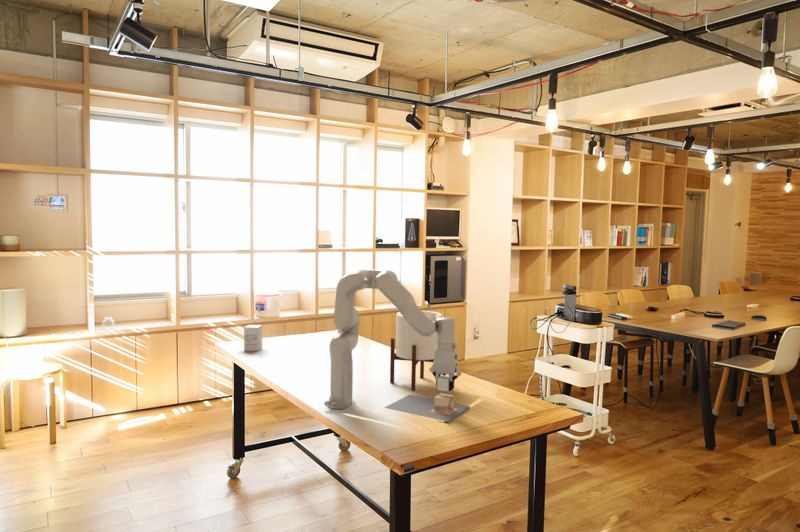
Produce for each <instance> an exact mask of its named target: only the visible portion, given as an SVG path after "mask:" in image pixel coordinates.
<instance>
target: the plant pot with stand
mask: <svg viewBox="0 0 800 532" xmlns="http://www.w3.org/2000/svg"><path fill="white" fill-rule="evenodd" d="M420 310H421V309H420ZM421 311H422V312H423V313H424V314H425V315H426V316H427V315H431V316H437V317H443V314H442V313H440V312H439V311H433V310H432V311H431V310H421ZM395 318H396V319H395V320H396V323H395V326H396V327H395V337H391V338H390V359H389V360H390V365H389V368H390V369H389V370H390V371H389V372H390V373H389V374H390V377H389V384H395V361H410V362H411V381H410V383H411V384H410V387H411V388H410V390H411V391H412V392H416V382H417V381H416V378H417V376H416V375H417V373H416V372H417V369H416V368H417V365H418V363H419V362H420V363H419V364H420V365H419V378H420V379H424V377H425V363H428V362H429V363H433V360H434V353H435V349H436V348H437V332H434V333H433V334H432V335H431V336H422V335H420V334H419V333H418V332H417V331H416V330H415V329H414V328H413V327H412V326H411V325H410V324H409V323H408V322H407V321H406V319H405V318H404V317H403V316H402V314H401V313H400V312H399V311H398V312H397V313H396V317H395ZM442 375H444V376H447V374H443V373H441V376H442Z"/></svg>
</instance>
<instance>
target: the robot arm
mask: <svg viewBox="0 0 800 532" xmlns="http://www.w3.org/2000/svg"><path fill="white" fill-rule="evenodd" d="M364 289H374V290H375V289H377V290H379V291H380V293H382V295H383V296H384V297H385V298H386V299H387V300H388V301H389V302H390V303H391V304H392V305H393V306H394V307H395V308H396V309H397V310H398V312H400V313H401V314H402V316H403V317H404V318H405V319H406V321H407V322H408V323H409V324H410V325H411V326H412V327H413V328H414V329H415V330H416V331H417V332H418V333H419V334H420V335H422V336H431V335H432V334H433V333H434V332H437V348H436V349H435V353H434V360H433V362H432V366H430V367H429V368H428V369H429V371H430V372H431V374H432V375H433V376H434V378H435V386H436V387H437V378H438V377H440V376H442V373H443V374H446V375H448V376H449V378H450V381H449V391H448V392H451V391H453V390H454V389H455V380H456V379H458V378H459V377H460V376H462V375H463V374H462V371H461V370H460V369H459V356H458V351H457V349H458V345H457V344H456V342H455V339H456V338H455V337H456V319H455V318H453V317H451V316H442V317H437V316H431V315H427V316H426V315H425V314H424V313H423V312H422V311H423V310H422V311H421V308H419V306H418V305H417V303H416V301H415V298H414V296H413V294H412V293H411V292H410V291H409V290H408V289H407V288H406V287H405V286H404V284H403V285H402V283H401V282H400V281H399V280H398V276H397V274H396V273H395V272H394V271H392V270H390V269H387V270H385V269H384V270H383V269H359V270H354V271H352V272H349V273H347V274H345V275H343V276H342V277H341V278H340V280H339V281H338V283H337V286H336V290H335V291H336V292H335V301H334V312H333V325H334V327H335V328H336V329H337V333H336V334H335V335H334V336H333V337H332V338H331V341H330V343H329V356H330V357H329V358H330V396H329V399H328V400H326V401H324V403H323V404H324V405H325V407H328V408H329V409H334V410H345V409H348V408H350V407H353V406H355V405H356V404H357V401H355V399H353V385H354V384H353V383H354V382H353V381H354V380H353V379H354V377H353V375H354V374H353V372H354V368H353V367H354V366H353V365H354V364H353V354H352V353H353V350H354V349H355V348H356V347H357V345H358V342H359V334H360V314H359V311H358V310H357V309H356V308H355V305H356V293H357V292H359V291H361V290H364ZM455 373H456V374H455Z"/></svg>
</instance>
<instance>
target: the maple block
mask: <svg viewBox="0 0 800 532" xmlns="http://www.w3.org/2000/svg"><path fill="white" fill-rule="evenodd" d="M434 399H435V401H434V411H438V412H443V413H449V412H450V411H452V410H453V403H454V402H455V401H454V394H453V395H452V394H447V393H442V392H440V393H439V394H437V395H435V396H434Z"/></svg>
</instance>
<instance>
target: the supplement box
mask: <svg viewBox="0 0 800 532" xmlns="http://www.w3.org/2000/svg"><path fill="white" fill-rule="evenodd" d="M243 332H244V333H243V334H244V335H243V340H244V341H243V343H244V344H243V345H244V347H243V348H244V349H243V351H244V352H259V351H260V350H261V349H262V348H263V326H262V325H261V324H248V325H246V326H244V327H243Z"/></svg>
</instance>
